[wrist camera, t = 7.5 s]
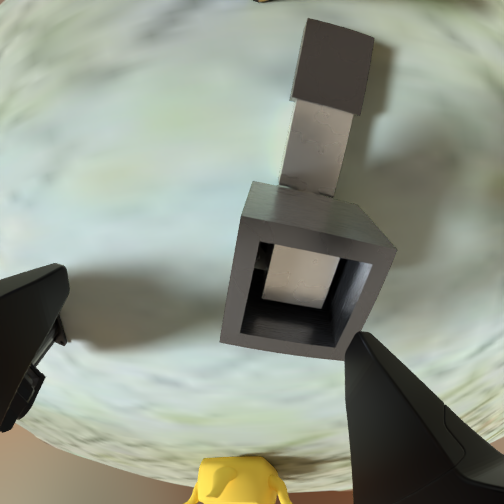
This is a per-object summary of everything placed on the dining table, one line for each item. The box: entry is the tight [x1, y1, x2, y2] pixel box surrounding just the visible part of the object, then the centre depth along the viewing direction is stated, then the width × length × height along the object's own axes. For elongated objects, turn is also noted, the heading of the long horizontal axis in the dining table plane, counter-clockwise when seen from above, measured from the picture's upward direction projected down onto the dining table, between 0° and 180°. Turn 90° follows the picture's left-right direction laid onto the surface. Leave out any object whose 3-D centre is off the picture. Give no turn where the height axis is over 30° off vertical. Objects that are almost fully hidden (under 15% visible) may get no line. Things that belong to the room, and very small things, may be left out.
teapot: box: [184, 456, 293, 504], centre depth 32 cm, size 15×14×10 cm
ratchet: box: [254, 18, 374, 309], centre depth 14 cm, size 16×6×6 cm, turn 170°
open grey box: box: [220, 181, 397, 361], centre depth 14 cm, size 6×6×6 cm
